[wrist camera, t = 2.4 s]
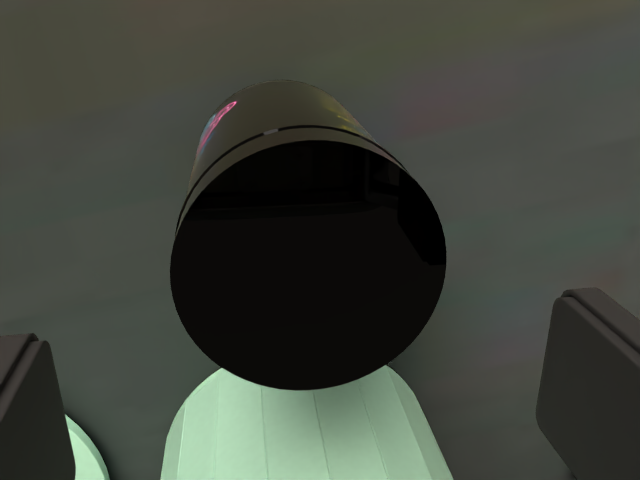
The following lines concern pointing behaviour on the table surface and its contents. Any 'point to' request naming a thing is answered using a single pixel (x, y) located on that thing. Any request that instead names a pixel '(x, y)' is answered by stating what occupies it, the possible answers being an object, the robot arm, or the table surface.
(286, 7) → the table surface
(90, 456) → the lid
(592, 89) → the table surface
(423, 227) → the supplement container
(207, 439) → the pot
